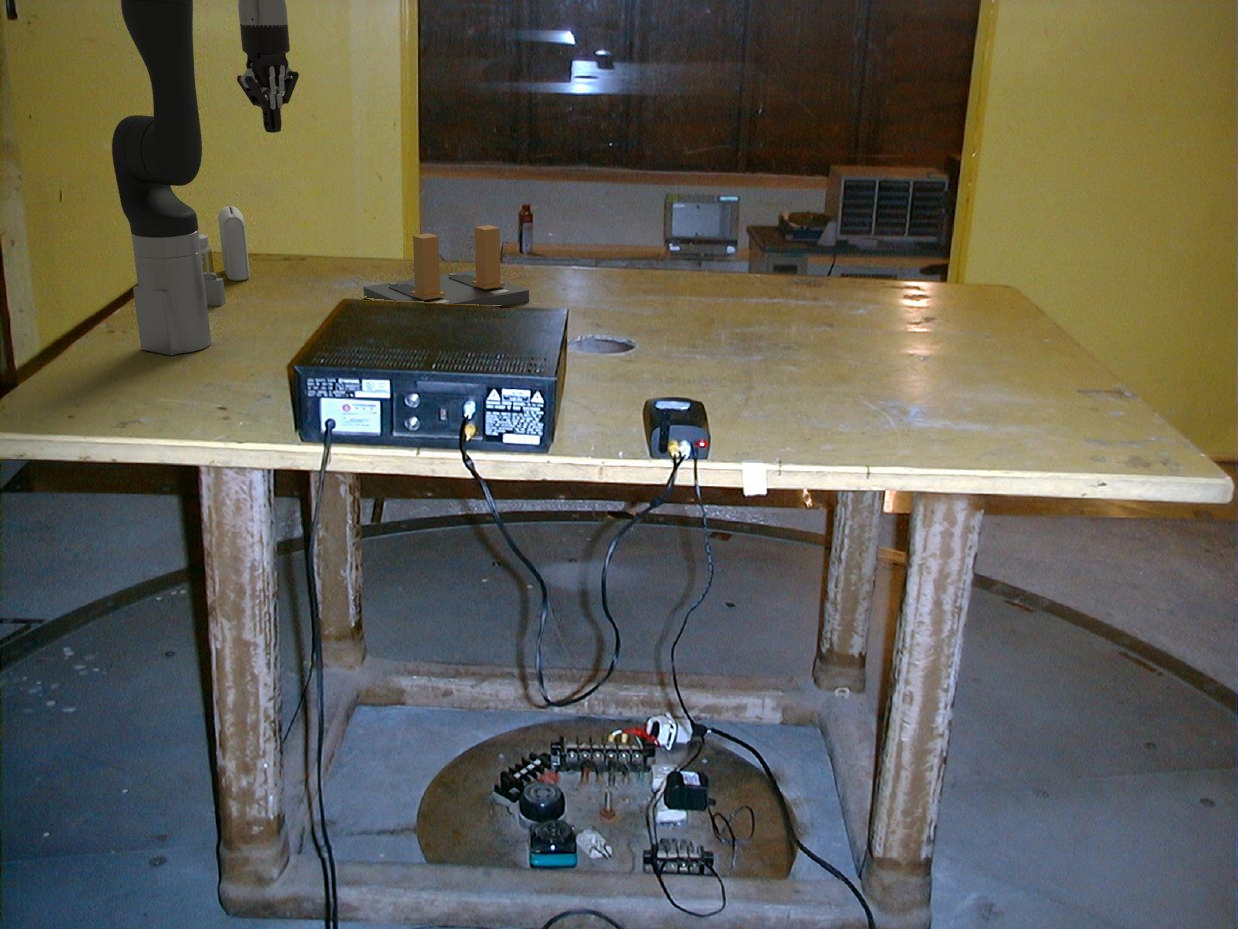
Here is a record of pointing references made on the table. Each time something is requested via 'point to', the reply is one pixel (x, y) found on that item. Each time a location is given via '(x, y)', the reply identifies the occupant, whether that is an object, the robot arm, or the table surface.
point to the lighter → (214, 289)
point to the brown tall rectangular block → (487, 257)
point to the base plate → (452, 291)
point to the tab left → (426, 267)
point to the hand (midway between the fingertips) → (273, 131)
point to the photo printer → (233, 243)
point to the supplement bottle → (206, 254)
